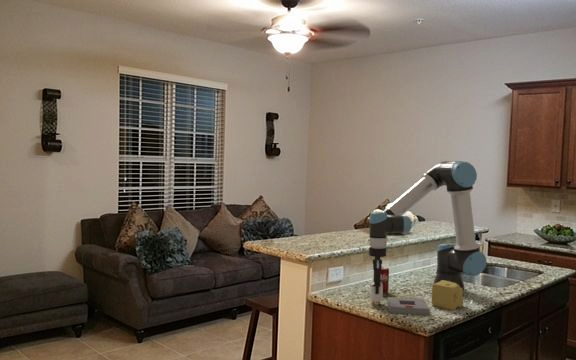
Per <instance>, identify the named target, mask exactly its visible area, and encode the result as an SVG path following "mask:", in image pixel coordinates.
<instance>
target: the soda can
mask: <svg viewBox="0 0 576 360" xmlns="http://www.w3.org/2000/svg"><path fill="white" fill-rule="evenodd" d="M380 281H381V283H382V284H383V295H386V294H388V293H389V290H390V288H389V287H390V285H389V284H390V268H389V267H387V266H383V265H381V276H380Z"/></svg>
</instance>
